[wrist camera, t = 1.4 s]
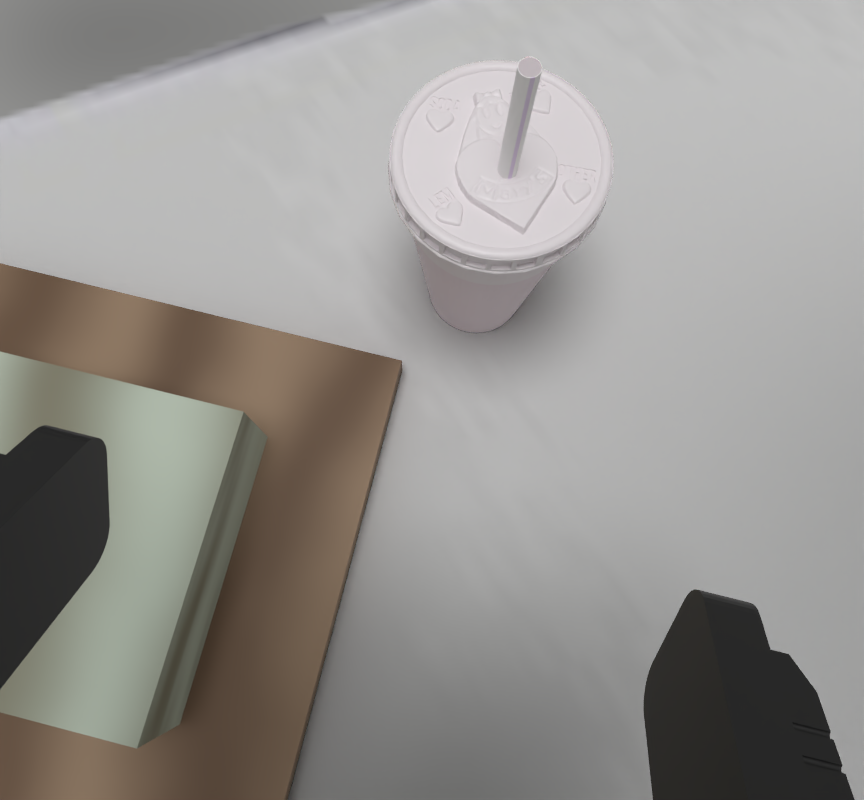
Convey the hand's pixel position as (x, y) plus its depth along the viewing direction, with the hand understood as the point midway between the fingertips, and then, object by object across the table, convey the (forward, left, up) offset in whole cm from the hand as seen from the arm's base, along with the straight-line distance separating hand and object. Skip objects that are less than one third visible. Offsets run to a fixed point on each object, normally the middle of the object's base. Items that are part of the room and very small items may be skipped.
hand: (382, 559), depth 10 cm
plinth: (+11, +1, -18) cm, 21 cm away
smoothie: (0, -12, -18) cm, 21 cm away
